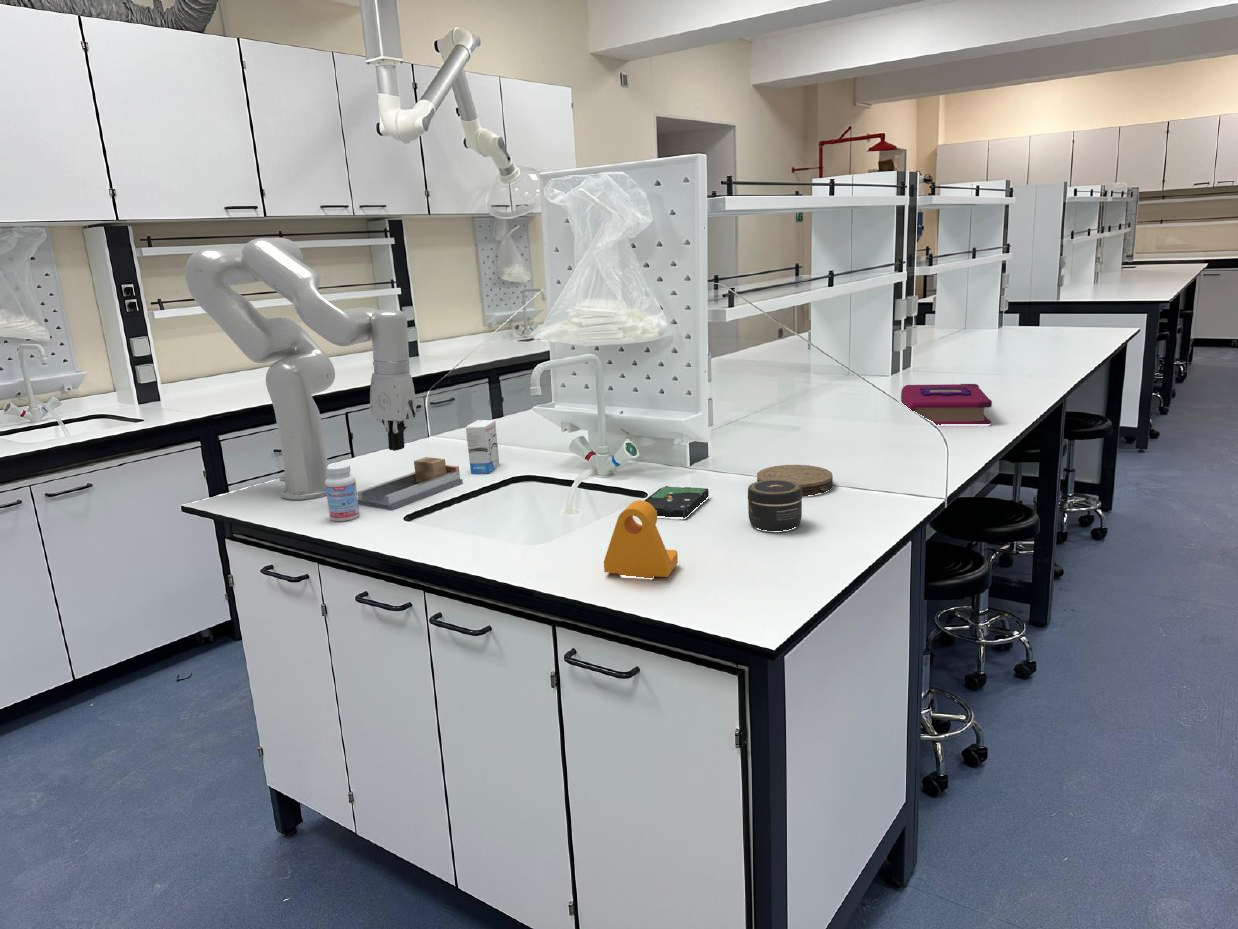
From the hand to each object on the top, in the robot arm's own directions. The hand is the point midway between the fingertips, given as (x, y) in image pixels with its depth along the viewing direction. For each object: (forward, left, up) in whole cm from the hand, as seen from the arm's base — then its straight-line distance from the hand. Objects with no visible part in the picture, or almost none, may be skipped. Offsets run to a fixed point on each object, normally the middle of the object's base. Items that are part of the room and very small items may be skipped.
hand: (396, 448), depth 193 cm
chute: (+1, +1, -11) cm, 11 cm away
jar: (+84, +13, -11) cm, 86 cm away
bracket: (+73, -17, -11) cm, 76 cm away
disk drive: (+61, +16, -11) cm, 65 cm away
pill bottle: (+1, -17, -11) cm, 20 cm away
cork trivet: (+78, +38, -11) cm, 88 cm away
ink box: (+3, +24, -11) cm, 27 cm away
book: (+91, +119, -11) cm, 150 cm away
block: (+1, +8, -9) cm, 12 cm away
